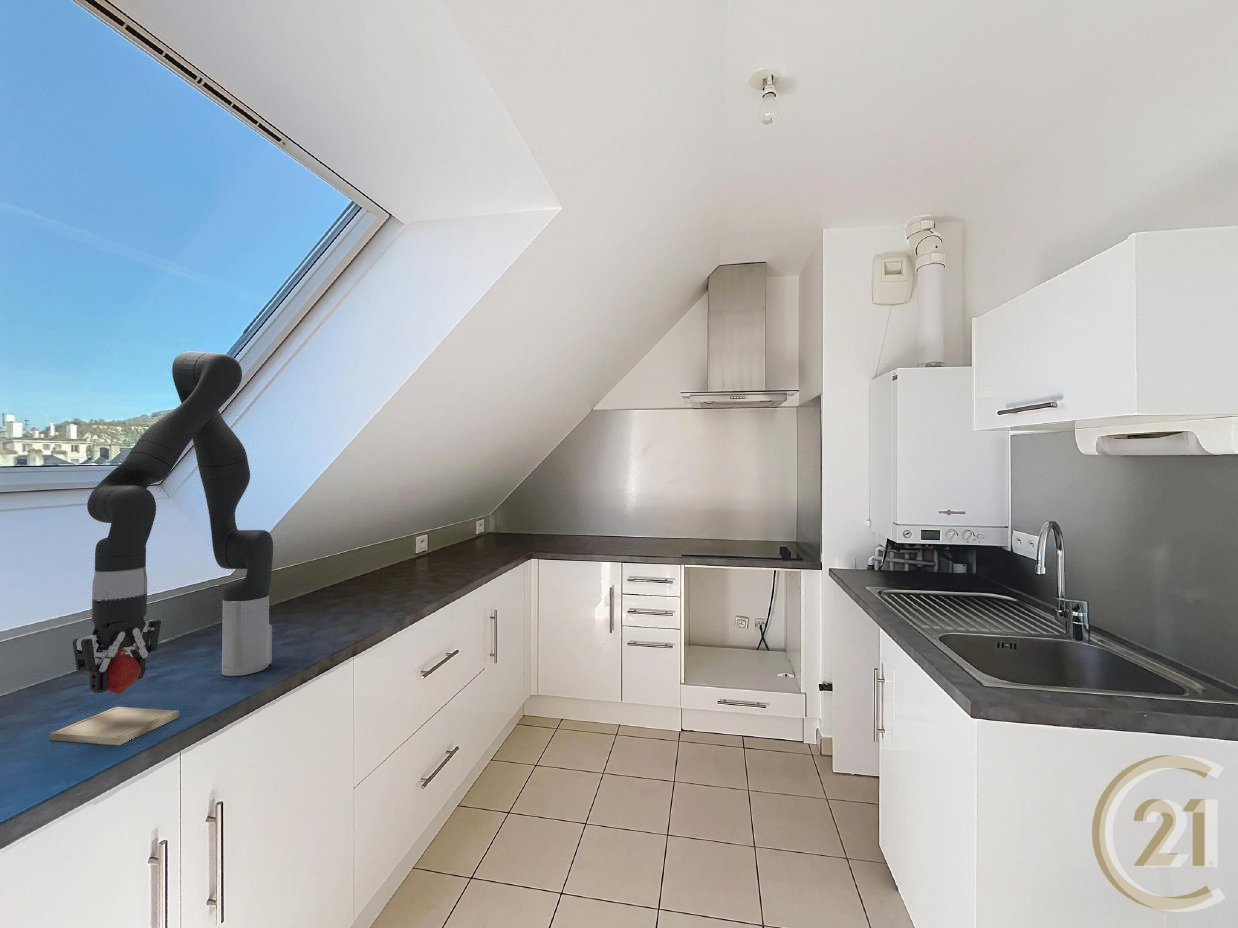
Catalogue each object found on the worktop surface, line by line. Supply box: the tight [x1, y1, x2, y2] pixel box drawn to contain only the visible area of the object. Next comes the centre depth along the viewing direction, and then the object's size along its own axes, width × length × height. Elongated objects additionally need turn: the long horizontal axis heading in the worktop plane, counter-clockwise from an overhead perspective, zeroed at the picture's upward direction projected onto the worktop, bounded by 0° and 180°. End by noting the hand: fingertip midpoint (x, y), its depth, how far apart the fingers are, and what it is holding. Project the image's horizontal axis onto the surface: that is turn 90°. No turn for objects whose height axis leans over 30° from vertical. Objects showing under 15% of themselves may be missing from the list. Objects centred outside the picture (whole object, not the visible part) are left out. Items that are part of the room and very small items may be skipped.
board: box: [50, 706, 180, 746], centre depth 100 cm, size 11×14×1 cm
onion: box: [105, 648, 141, 695], centre depth 101 cm, size 6×6×8 cm
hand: (118, 684), depth 100 cm, fingers closed on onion, 6 cm apart
